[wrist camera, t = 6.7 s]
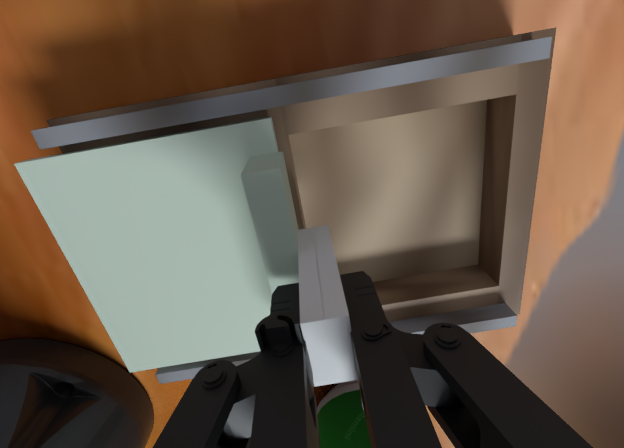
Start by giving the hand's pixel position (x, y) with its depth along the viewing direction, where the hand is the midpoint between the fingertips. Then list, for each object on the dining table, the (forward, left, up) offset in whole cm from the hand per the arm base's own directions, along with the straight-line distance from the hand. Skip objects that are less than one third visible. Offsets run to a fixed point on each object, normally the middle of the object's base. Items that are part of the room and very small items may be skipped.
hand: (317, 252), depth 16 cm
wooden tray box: (+1, 0, -5) cm, 5 cm away
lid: (-7, 0, -2) cm, 7 cm away
